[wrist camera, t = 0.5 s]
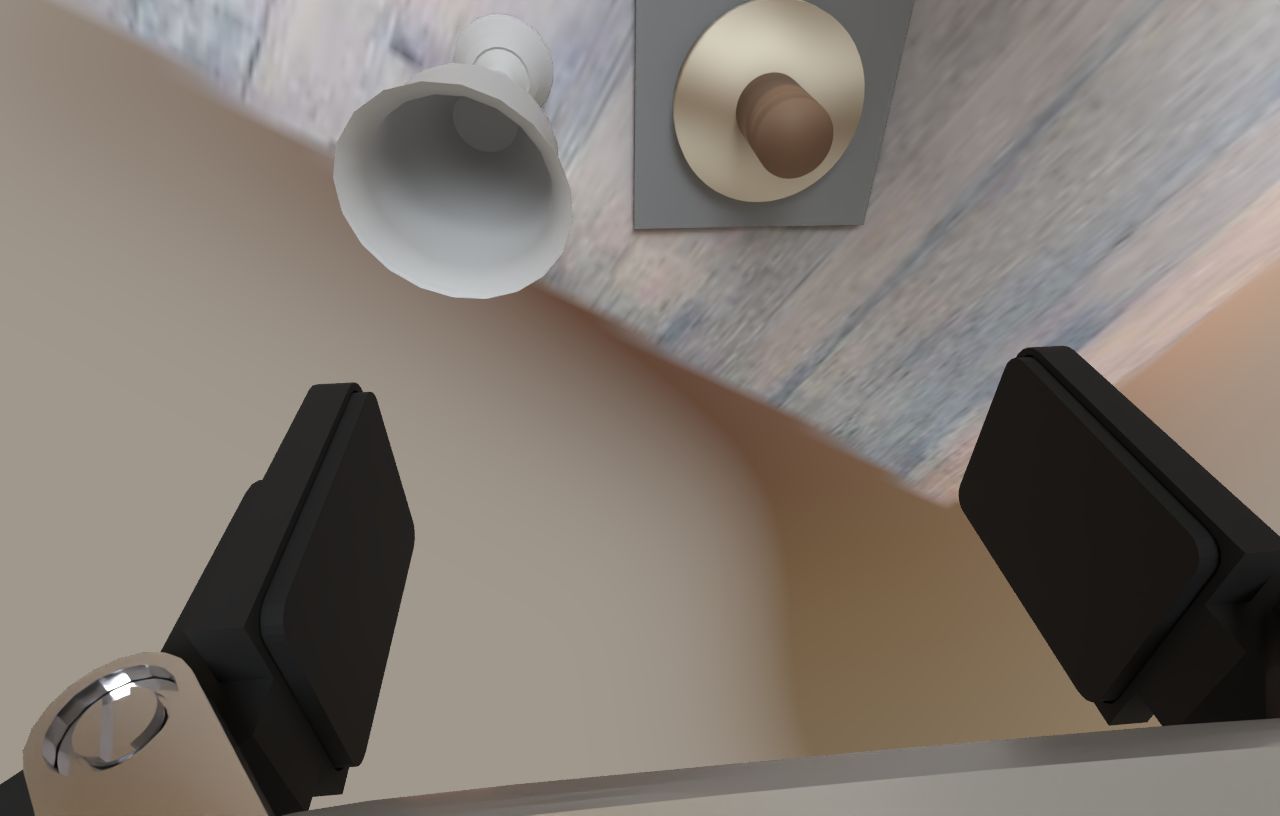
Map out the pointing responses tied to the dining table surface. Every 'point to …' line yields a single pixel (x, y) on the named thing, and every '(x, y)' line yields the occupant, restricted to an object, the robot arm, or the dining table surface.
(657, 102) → the mat
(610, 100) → the dining table surface
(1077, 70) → the dining table surface
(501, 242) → the chalice
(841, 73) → the lid
